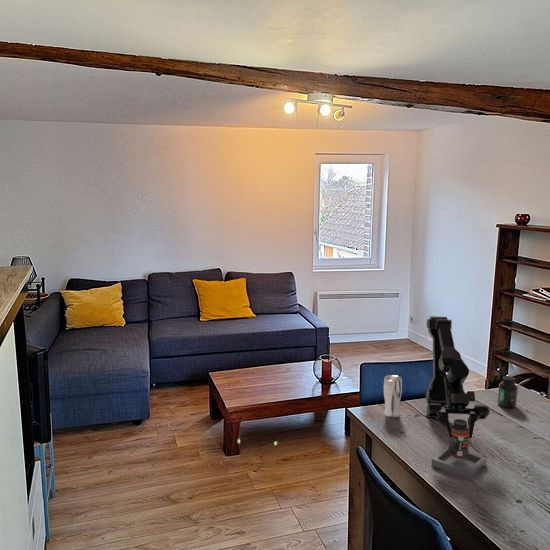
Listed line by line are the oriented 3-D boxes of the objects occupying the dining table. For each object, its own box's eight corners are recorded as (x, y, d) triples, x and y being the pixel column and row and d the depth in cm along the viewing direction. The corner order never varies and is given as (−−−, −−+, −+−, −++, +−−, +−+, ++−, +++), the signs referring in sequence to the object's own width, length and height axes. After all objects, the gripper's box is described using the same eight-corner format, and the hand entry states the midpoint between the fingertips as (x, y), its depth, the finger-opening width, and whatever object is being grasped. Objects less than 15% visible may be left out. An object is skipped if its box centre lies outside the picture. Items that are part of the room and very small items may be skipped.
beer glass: (401, 412, 200) (403, 376, 198) (400, 419, 194) (401, 382, 191) (383, 409, 203) (385, 374, 200) (381, 416, 196) (382, 380, 194)
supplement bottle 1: (464, 461, 158) (467, 427, 156) (445, 455, 162) (447, 422, 160) (470, 453, 163) (472, 420, 161) (452, 447, 166) (454, 415, 164)
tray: (431, 466, 161) (431, 458, 161) (448, 451, 170) (449, 444, 170) (469, 481, 153) (470, 473, 152) (485, 465, 162) (486, 457, 161)
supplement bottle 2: (500, 408, 203) (502, 380, 201) (495, 401, 209) (497, 374, 207) (518, 409, 202) (520, 381, 200) (512, 402, 209) (515, 375, 206)
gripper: (429, 379, 163) (434, 427, 154) (489, 382, 161) (498, 430, 152) (424, 393, 172) (428, 438, 163) (481, 395, 170) (488, 442, 161)
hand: (460, 437), depth 160 cm, fingers closed on supplement bottle 1, 6 cm apart
